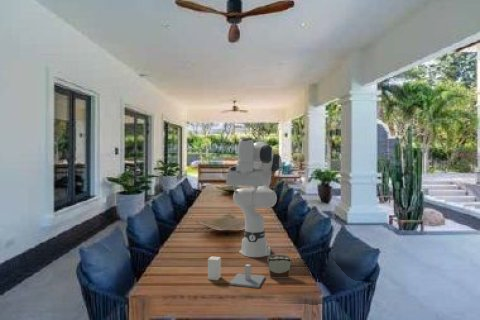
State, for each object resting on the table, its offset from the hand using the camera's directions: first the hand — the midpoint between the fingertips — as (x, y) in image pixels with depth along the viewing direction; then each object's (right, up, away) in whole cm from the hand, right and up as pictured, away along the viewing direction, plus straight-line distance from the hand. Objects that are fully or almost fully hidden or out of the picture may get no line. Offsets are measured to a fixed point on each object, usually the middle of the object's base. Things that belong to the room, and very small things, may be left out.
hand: (244, 194), depth 220 cm
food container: (+17, -40, -11) cm, 45 cm away
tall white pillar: (-15, -40, -15) cm, 45 cm away
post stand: (+1, -40, -19) cm, 45 cm away
